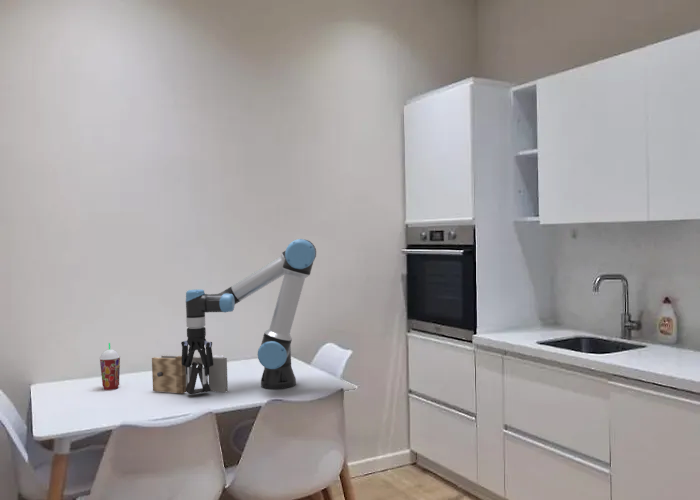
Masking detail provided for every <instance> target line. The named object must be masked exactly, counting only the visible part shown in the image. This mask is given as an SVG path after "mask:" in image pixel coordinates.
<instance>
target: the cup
mask: <svg viewBox="0 0 700 500" xmlns="http://www.w3.org/2000/svg"><path fill="white" fill-rule="evenodd" d="M212 356H213V357H218V358H225V355H223V354H212Z"/></svg>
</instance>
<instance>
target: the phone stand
mask: <svg viewBox="0 0 700 500" xmlns="http://www.w3.org/2000/svg"><path fill="white" fill-rule="evenodd" d="M196 362H197V361H196ZM196 362H193V363H192V372H191V376H190V381H189V383H188V384H187V387H186V390H185V391H186V392H185V393H187V394H189V395H197V394H201V393H203V394H204V393H209V392H212V391H211V389H210V387H209V381H208V382H207V379H206V384H203V377H202V368H203V367H204V366H203V365H202V364H201V363H199V362H197V363H196ZM198 377H199V380H200V383H201V388H196V384H197V379H198Z"/></svg>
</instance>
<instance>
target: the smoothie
mask: <svg viewBox="0 0 700 500" xmlns="http://www.w3.org/2000/svg"><path fill="white" fill-rule="evenodd" d="M120 363H121V356H120V354H119V352H118V351H117V350H115V349H113V348H111V342H108V348H107V349H106V350H104V351H103V352H102V353H101V355H100V357H99V364H100V372H101V373H100V376H101V382H102V383H101V384H102V388H103V389H104V390H106V391H111V390H112V391H113V390H117V389H118V388H119V385H120V374H121V373H120V368H121V367H120V366H121V364H120Z"/></svg>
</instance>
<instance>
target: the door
mask: <svg viewBox="0 0 700 500" xmlns="http://www.w3.org/2000/svg"><path fill="white" fill-rule="evenodd" d="M177 356H178V357H175V358H161V357H155V356H154V357H152V358H151V368H152V369H151V370H152V373H151V374H152V375H151V376H152V391H153V392H160V393H161V392H162V393H163V392H164V393H176V394H186V393H187V392H186V391H185V390H186V371H185V366H184V365H182V364H181V363H182V355H177Z"/></svg>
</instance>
